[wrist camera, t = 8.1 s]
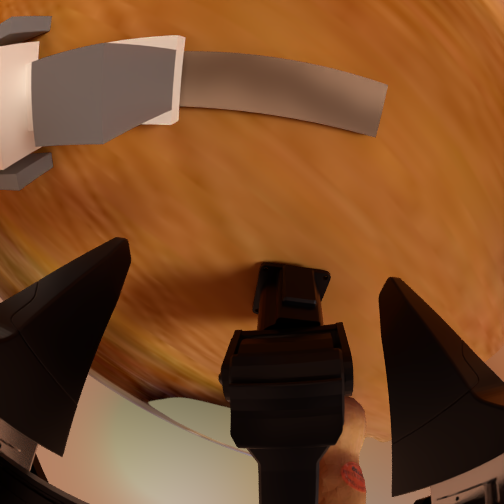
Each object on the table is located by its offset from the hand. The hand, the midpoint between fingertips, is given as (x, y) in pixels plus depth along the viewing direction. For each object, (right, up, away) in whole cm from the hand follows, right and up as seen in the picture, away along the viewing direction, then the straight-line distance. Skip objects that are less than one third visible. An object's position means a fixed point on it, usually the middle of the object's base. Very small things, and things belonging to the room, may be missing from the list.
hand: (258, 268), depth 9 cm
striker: (-12, +13, +6) cm, 19 cm away
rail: (+1, +12, +7) cm, 14 cm away
